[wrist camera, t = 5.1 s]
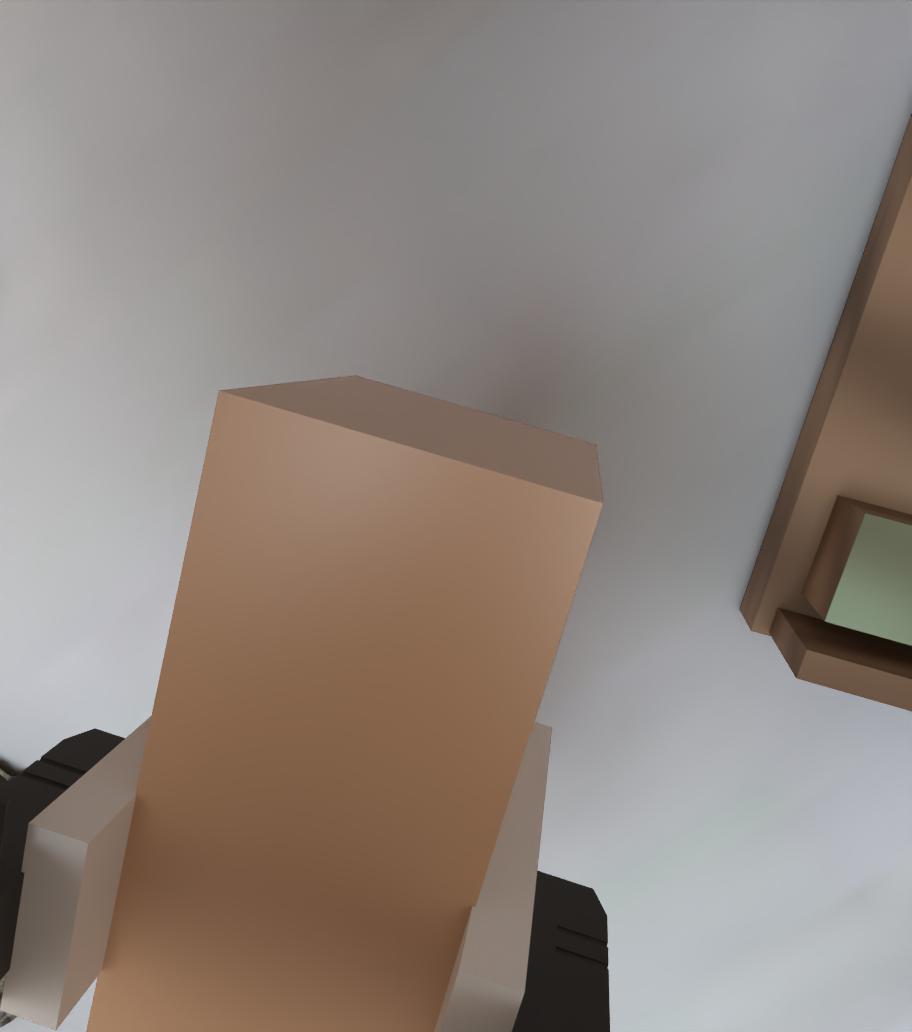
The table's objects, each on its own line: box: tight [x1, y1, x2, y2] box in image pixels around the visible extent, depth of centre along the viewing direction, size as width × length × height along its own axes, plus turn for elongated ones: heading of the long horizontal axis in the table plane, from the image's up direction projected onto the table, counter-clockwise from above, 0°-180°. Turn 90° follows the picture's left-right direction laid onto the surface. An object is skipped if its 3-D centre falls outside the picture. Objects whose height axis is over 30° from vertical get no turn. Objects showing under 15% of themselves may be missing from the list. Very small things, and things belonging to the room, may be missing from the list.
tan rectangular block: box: [86, 376, 603, 1032], centre depth 14 cm, size 14×4×6 cm, turn 165°
